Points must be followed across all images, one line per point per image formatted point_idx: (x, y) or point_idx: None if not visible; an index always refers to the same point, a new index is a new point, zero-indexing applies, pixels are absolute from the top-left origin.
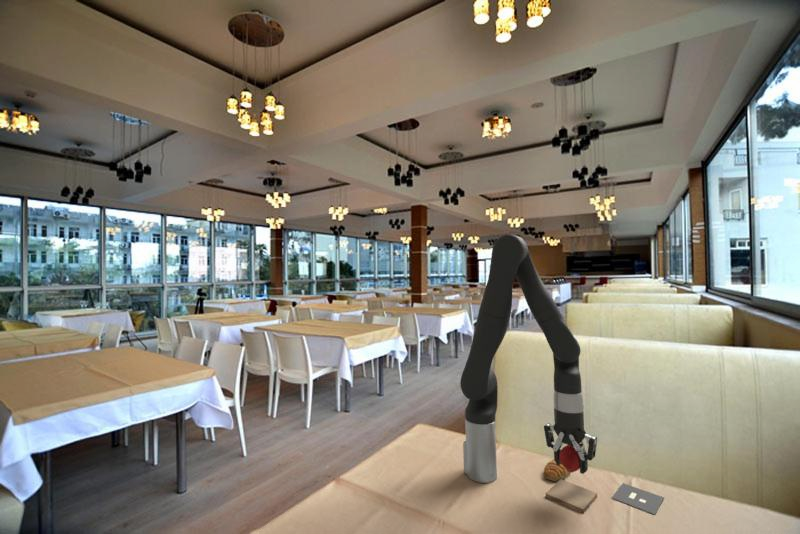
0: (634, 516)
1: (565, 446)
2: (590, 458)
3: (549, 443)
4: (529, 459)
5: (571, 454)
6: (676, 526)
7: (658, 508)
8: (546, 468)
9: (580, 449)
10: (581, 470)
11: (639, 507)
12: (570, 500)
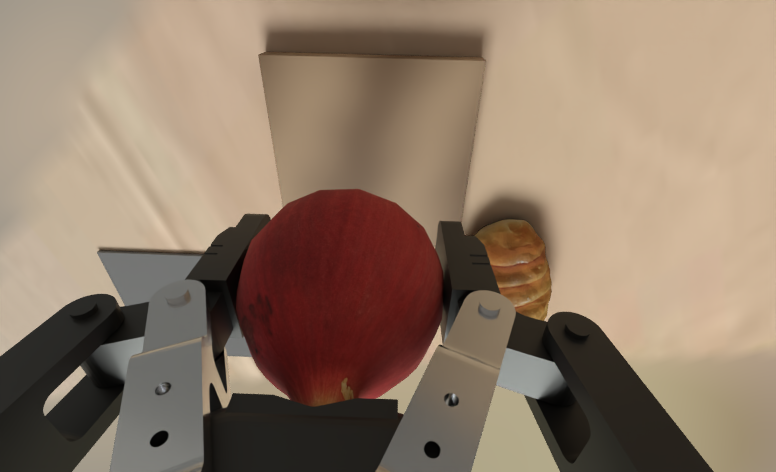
0: (128, 194)
1: (379, 375)
2: (76, 312)
3: (575, 348)
4: (631, 318)
5: (278, 289)
6: (19, 230)
7: (119, 291)
8: (539, 271)
9: (135, 374)
10: (246, 223)
11: (152, 258)
12: (345, 91)
